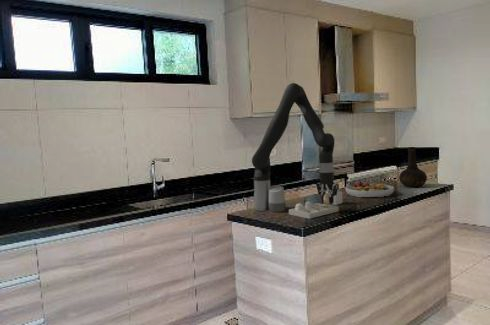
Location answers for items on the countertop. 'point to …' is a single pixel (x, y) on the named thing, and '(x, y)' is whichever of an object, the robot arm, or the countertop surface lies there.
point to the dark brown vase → (412, 172)
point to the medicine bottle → (337, 196)
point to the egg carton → (315, 211)
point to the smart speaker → (277, 199)
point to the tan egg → (326, 199)
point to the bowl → (369, 189)
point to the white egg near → (299, 207)
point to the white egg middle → (308, 205)
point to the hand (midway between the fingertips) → (327, 202)
